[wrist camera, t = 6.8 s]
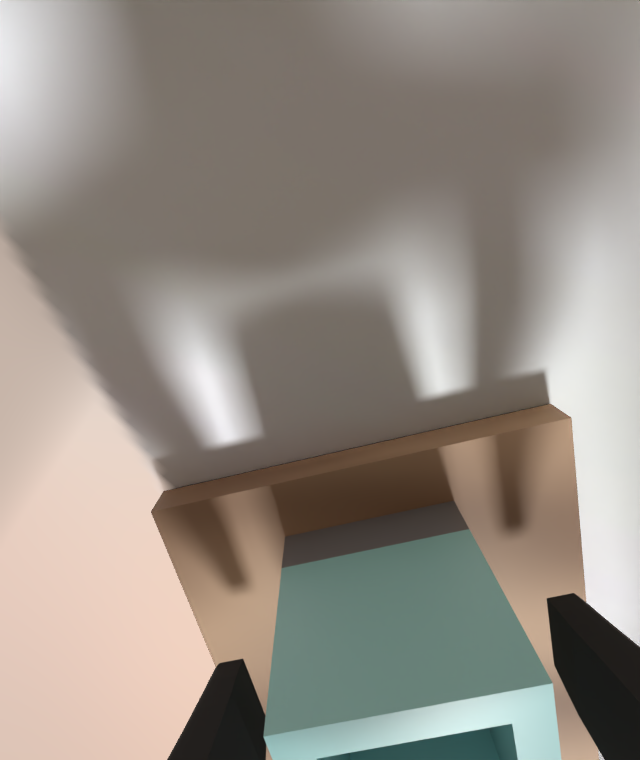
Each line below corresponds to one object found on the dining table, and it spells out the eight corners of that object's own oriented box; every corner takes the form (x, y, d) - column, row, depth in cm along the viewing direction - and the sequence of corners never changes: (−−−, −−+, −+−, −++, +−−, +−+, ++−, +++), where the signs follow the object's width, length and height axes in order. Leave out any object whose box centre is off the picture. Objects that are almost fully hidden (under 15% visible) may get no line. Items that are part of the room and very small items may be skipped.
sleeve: (477, 633, 13) (573, 865, 8) (325, 663, 13) (329, 904, 8) (454, 500, 11) (553, 683, 7) (285, 536, 12) (263, 736, 7)
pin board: (590, 826, 17) (658, 969, 14) (316, 871, 18) (316, 1017, 14) (550, 403, 12) (643, 466, 8) (163, 491, 12) (107, 581, 9)
